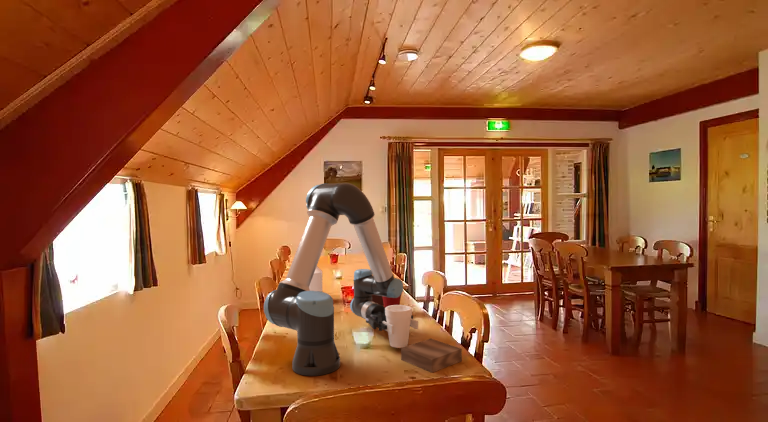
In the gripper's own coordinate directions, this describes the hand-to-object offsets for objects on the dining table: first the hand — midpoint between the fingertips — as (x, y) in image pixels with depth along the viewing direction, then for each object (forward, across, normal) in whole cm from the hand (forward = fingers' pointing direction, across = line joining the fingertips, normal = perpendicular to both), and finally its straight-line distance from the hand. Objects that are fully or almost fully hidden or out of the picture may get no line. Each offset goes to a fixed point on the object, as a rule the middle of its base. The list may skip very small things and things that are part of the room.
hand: (405, 327), depth 148 cm
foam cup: (-4, 0, -7) cm, 9 cm away
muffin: (-63, -22, -9) cm, 67 cm away
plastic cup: (-45, -21, -9) cm, 50 cm away
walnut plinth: (+10, -4, -9) cm, 14 cm away
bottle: (-86, +2, -9) cm, 87 cm away
